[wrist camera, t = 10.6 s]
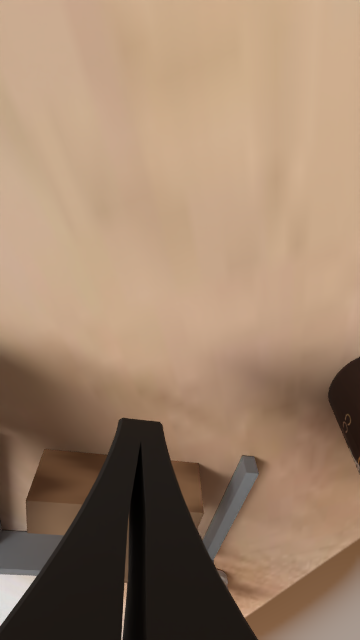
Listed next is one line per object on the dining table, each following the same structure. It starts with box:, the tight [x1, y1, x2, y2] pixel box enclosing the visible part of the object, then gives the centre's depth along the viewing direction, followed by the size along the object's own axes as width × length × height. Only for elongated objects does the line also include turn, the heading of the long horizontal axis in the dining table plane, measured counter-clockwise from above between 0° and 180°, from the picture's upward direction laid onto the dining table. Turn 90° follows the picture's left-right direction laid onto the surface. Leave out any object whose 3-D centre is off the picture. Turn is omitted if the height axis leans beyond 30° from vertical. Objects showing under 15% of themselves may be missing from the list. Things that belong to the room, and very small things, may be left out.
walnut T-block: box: [26, 449, 204, 583], centre depth 27 cm, size 12×11×4 cm
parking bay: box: [0, 456, 259, 576], centre depth 27 cm, size 21×14×3 cm
